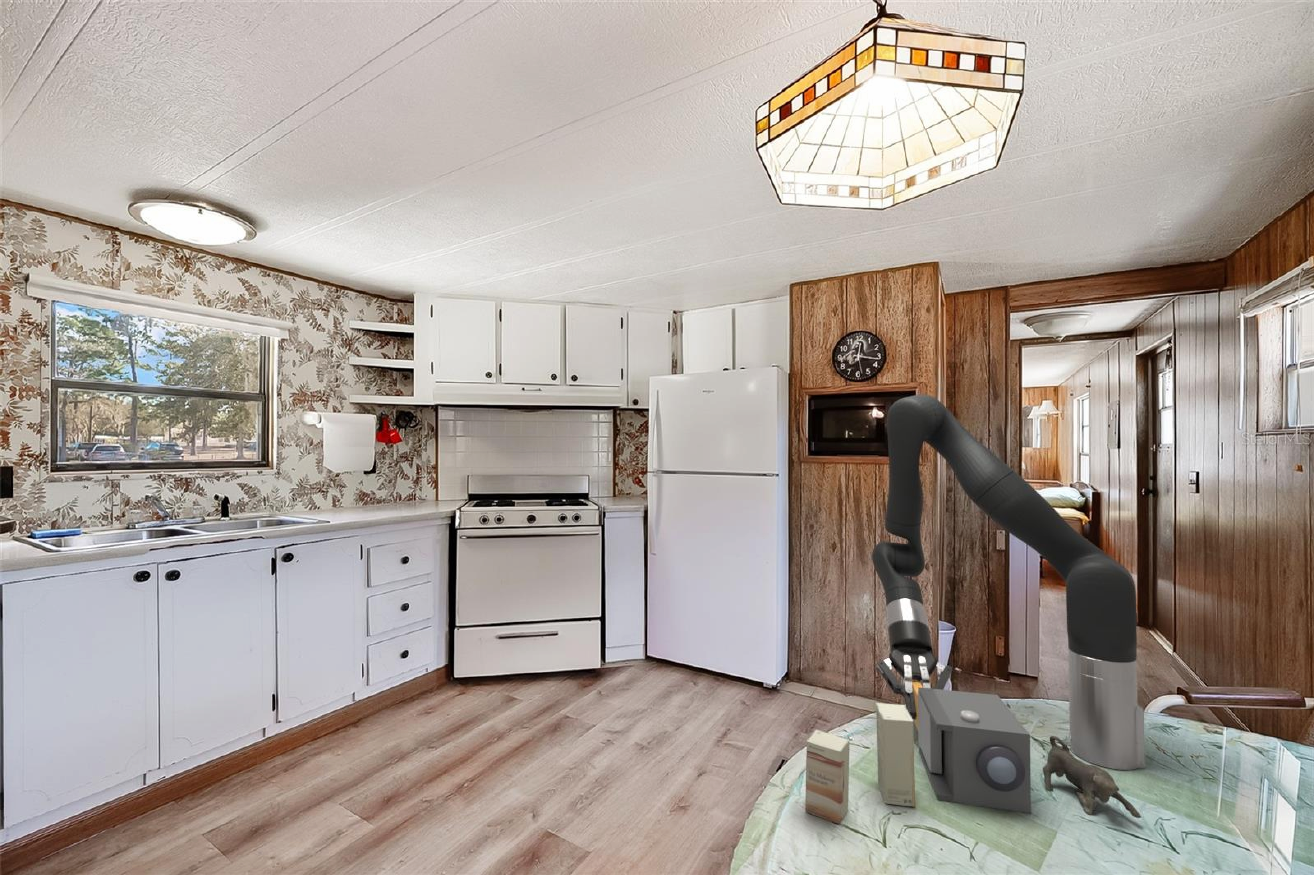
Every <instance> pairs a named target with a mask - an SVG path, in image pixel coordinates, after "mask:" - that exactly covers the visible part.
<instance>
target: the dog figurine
mask: <svg viewBox="0 0 1314 875" xmlns="http://www.w3.org/2000/svg"><path fill="white" fill-rule="evenodd" d="M1057 742H1058V743H1059V744H1060V745H1061V746H1060V745H1058V743H1057ZM1049 743H1050V745H1051V748H1050V750H1049V752H1048V754H1047V760H1046V761H1047V762H1046V764H1045V765H1044V766H1043V767H1042V773H1043V779H1044V785H1045V786H1044V787H1045V790H1046V791H1047V792H1052V791H1054V790H1053V789H1054V787H1053V785H1052V774H1055V775H1056V777H1058V778H1062V777H1063V776H1065V778H1066V780H1067V781H1068V782H1069V783H1070V784H1072V785H1073V786H1074V787H1075V788H1076V789H1078V790H1080V791H1081V792H1082V793H1081V792H1079V791H1077V792H1076V795H1077V799H1078V800H1079V802H1080V803H1081V806H1083V811H1084V812H1085V813H1087V814H1088V815H1091V816H1092V815H1094V812H1093V811H1094V810H1095V809H1096V798H1097V799H1098V800H1099V801H1100V802H1101V803H1104V804H1107V803H1108V802H1109V801H1110V799H1111V798H1113V799H1115V800H1117V801H1119V802H1120V803H1121V804H1122V805H1123V806H1124V808H1125V810H1126V811H1128V812H1129V814H1130V815H1131V816H1132V817H1134V818H1137V819H1140V818H1142V816H1141V814H1140V812H1139V811H1138V810H1137V809H1136V808H1135V807H1134V805H1133V804H1132V803H1131V802H1130V801H1128V800H1127V799H1126V798H1125V797H1124V796H1123V795H1122V794H1121V793H1120V792H1118V791H1120V788H1119V787H1118V785H1117V784H1116V782H1115V780H1114V778H1113V777H1112V775H1111V774H1109V772H1108V771H1106V770H1105V769H1102V768H1101V767H1099V766H1096V765H1094V764H1093V765H1092V764H1088V763H1085V762H1083V761H1081V760H1079V759H1078V758H1077V757H1076V756H1074V755H1073V754H1072V752H1070V751H1071V749H1070V747H1069V746H1068V745H1067V744H1066V743H1065V742H1064V741H1063V740H1061V739H1060V737H1057V736H1055V735H1050V736H1049ZM1110 797H1111V798H1110Z"/></svg>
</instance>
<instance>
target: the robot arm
mask: <svg viewBox="0 0 1314 875" xmlns="http://www.w3.org/2000/svg"><path fill="white" fill-rule="evenodd" d="M886 416H887V417H886V431H887V433H886V434H887V445H888V469H889V470H888V471H889V472H888V473H889V474H888V475H889V476H888V492H887V493H888V494H887V500H886V501H887V502H886V510H885V512H886V513H885V520H884V528H885V530H886V531H887V532H888V533H889V534H890V535H893V536H895V537H898V538H902V539H905V540H906V541H907V543H903V542H902V543H900V542H892V541H881V542H878V543H876V545H875V546H873V547H874V548H873V549H872V551H871V552H872V553H871V560H872V564H873V567H874V570H875V572H876V574H877V576H878V578H879V580H880V582H881V585H882V587H883V591H884V597H885V605H886V627H887V628H886V629H887V632H888V641H889V649H890V650H889V651H890V653H889V655H888V658H886V659H879V660H878V661H877V665H876V666H877V667H876V669H877V670H878V672H879V674H880V675H881V677H882V678H883V679H884V681H885V682H886V683H887V685H888V686H889V688H890V689H891V691H892V692H893V694H896V695H900V696H902V697H903V698H904V703H905V707H906V709H907V710H908V712H909V714H910V715H911V717H912V719H915V720H916V716H917V713H916V706H915V698H914V694H913V693H912V691H913V689H912V681H920V682H921V684H922V686H923V688H931V689H941V690H945V687H946V685H947V683H948V681H949V679H950V677H951V674H952V671H953V668H952V666H951V665H943V664H942V663H940V662H939V661H938V659H937V657H936V655H935V654H934V650H933V645H932V638H931V633H930V632H931V631H930V628H929V627H930V626H929V622H928V616H927V613H926V610H925V606H924V600H923V594H922V587H921V586H920V584H919V582H917V581H916V580H915V579H913V578H916V577H918V576H920V575H921V574H922V573H923V572H924V570H925V567H926V560H925V554H924V553H925V552H924V549H923V545H922V544H923V543H922V537H921V524H922V518H923V517H922V516H923V508H924V489H923V486H922V485H923V484H922V480H921V475H920V458H921V454H922V449H923V445H924V443H926V444H928V446H930V447H931V448H932V449H933V450H935V451H936V452H937V453H938V454H939V455H940V456H941V457H942V458H943V459H944V460H945V461H946V463H947V464H948V465H949V466H950V469H951V470H952V472H953V474H954V476H955V477H956V479H957V482H958V483H959V485H960V487H961V489H962V490H963V491H964V493H965V494H966V495H967V497H968V498H969V499H970V500H971V502H972V503H973V504H975V506H977V507H978V508H979V509H980V510H981V511H982V512H983V513H984V514H985V515H986V516H987V517H988V518H989V519H991V520H992V521H993V522H994V523H996V525H998V526H999V527H1001V529H1003V530H1004V531H1006V532H1008V533H1009V534H1011V535H1012V536H1014V537H1015V538H1016V539H1018V540H1020V541H1021V542H1023V543H1024V544H1026V545H1027V546H1029V547H1030V548H1031V549H1033V550H1034V551H1036V553H1038V554H1039V555H1040V556H1041V557H1042V558H1043V559H1044V560H1045V561H1046V562H1048V564H1049V565H1050V566H1051V567H1052V568H1053V570H1055V571H1056V572H1057V574H1058V575H1059V576H1060V577H1061V578H1062V579H1063V580H1064V582H1065V585H1066V586H1065V601H1066V602H1065V603H1066V604H1065V606H1066V609H1065V610H1066V633H1067V643H1068V644H1067V645H1068V650H1067V651H1068V656H1067V657H1068V706H1069V707H1068V710H1069V711H1068V713H1069V716H1068V717H1069V718H1068V719H1069V721H1068V722H1069V734H1068V735H1069V736H1068V737H1069V750H1070V751H1072V752H1071V753H1074V755H1076V756H1077V757H1079V758H1081V759H1082V760H1085V761H1086V762H1089V763H1092V764H1093V765H1097V766H1100V767H1103V768H1109V769H1113V770H1121V771H1129V770H1131V771H1132V770H1135V769H1146V748H1145V747H1146V746H1145V711H1144V708H1143V707H1141V705H1139V704H1138V673H1137V672H1138V671H1137V670H1138V669H1137V668H1138V667H1137V666H1138V665H1137V661H1138V660H1137V658H1138V657H1137V656H1138V655H1137V653H1138V652H1137V648H1138V646H1137V644H1138V641H1137V640H1138V637H1137V593H1136V584H1135V581H1134V578H1133V575H1132V574H1131V572H1130V570H1128V569H1127V567H1125V565H1123V564H1121V563H1120V562H1119V561H1117V560H1116V559H1114V558H1113V557H1112V556H1110V555H1109V554H1107V553H1106V552H1104V551H1103V550H1102V549H1100V548H1099V547H1098V546H1096V545H1095V544H1093V543H1092V542H1091V541H1089V540H1088V539H1087V538H1085V537H1084V536H1083V535H1082V534H1080V533H1079V532H1078V531H1077V530H1075V529H1074V528H1073V527H1072V526H1071V525H1070V524H1069V523H1068V522H1067V520H1065V519H1064V518H1063V517H1062V515H1060V513H1059V512H1058V511H1057V510H1056V509H1055V508H1054V507H1053V506H1052V505H1051V503H1049V502H1048V501H1047V500H1046V499H1045V498H1044V496H1042V495H1041V494H1040V493H1039V492H1038V491H1037V490H1036V489H1035V488H1034V487H1033V486H1032V485H1031V484H1030V483H1029V482H1028V481H1027V480H1025V479H1024V478H1023V477H1022V476H1020V475H1019V473H1018V472H1016V471H1015V470H1014V469H1013V468H1012V467H1010V466H1009V465H1008V464H1006V463H1005V462H1004V461H1003V460H1002V459H1001V458H999V456H997V455H996V454H995V453H994V452H993V451H991V450H990V449H989V448H988V447H987V446H986V445H984V444H983V443H982V442H980V441H979V440H978V438H976V437H974V435H972V434H971V433H970V432H969V430H968V429H967V428H966V427H965V426H964V425H962V423H961V422H960V421H959V420H958V419H957V418H956V417H955V416H954V415H953V413H952V412H951V411H950V410H949V409H948V408H947V406H945V405H944V404H943V402H941V401H940V400H939V399H938V398H936V397H934V396H932V395H929V394H921V393H920V394H914V395H911V396H906V397H903V398H900V399H898V400H897V401H894V402H893V404H892V405H890V408H889V409H888V411H887V415H886ZM893 668H894V669H895V671H896V672H897V673H898V674H899V676H900V677H901V678H902V679H901V680H902V683H901V682H900V681H899V678H897V676H896V675H895V674H894V673H893V671H892V669H893ZM935 670H936V675H937V676H938V679H937V682H936V685H934V687H931V683H930V677H931V675H932V674H933V672H934V671H935Z"/></svg>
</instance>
